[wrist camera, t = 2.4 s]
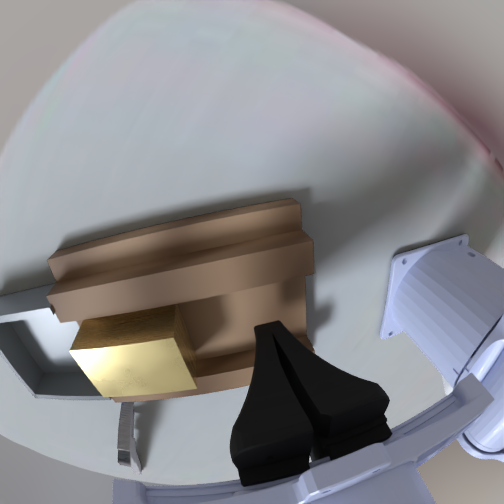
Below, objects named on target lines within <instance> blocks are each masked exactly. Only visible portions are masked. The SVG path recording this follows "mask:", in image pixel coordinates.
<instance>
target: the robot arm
mask: <svg viewBox="0 0 504 504" xmlns="http://www.w3.org/2000/svg"><path fill="white" fill-rule="evenodd" d="M468 243H469V236H468V235H466V234H463V235H460V236H457V237H454V238H451V239H448V240H444V241H441V242H438V243H435V244H431V245H428V246H425V247H421V248H418V249H415V250H411V251H408V252H404V253H401V254H397V255H396V256H394V258H393V259H392V264H391V272H390V279H389V286H388V293H387V299H386V305H385V310H384V316H383V321H382V326H381V331H380V337H381V339H383V340H384V339H387V338H389V337H392V336H394V335H396V334H399V333H401V332H403V331H404V332H405V333H406V334H407V335H408V336H409V337H410V338H411V340H412V341H413V342H414V343H415V344H416V345H417V346H418V348H419V349H420V350H421V351H422V352H423V353H424V354H425V356H426V357H427V358H428V359H429V360H430V361H431V363H432V364H433V365H434V366H435V367H436V369H437V370H438V371H439V372H440V373H441V375H442V376H443V377H444V378H445V379H446V381H447V382H448V383H449V384H450V386H451V387H452V388H453V391H452V392H451V393H450V394H448V395H447V396H446V397H444V398H443V399H441V400H440V401H438V402H437V403H435V404H434V405H432V406H431V407H429V408H427V409H426V410H424V411H423V412H421V413H419V414H418V415H416V416H414V417H412V418H411V419H409V420H407V421H405V422H404V423H402V424H400V425H398V426H396V427H394V428H392V429H391V430H390V428H389V427H388V425H387V423H386V422H387V418H386V417H385V415H384V413H385V411H386V409H387V407H388V404H389V401H390V400H389V397H388V396H387V394H386V393H385V391H384V390H383V389H382V388H381V387H380V386H379V385H378V384H377V383H374V382H371V381H367V380H364V379H361V378H358V377H356V376H353V375H351V374H349V373H347V372H345V371H343V370H340V369H338V368H336V367H335V366H333V365H331V364H329V363H328V362H326V361H325V360H323V359H322V358H320V357H319V356H317V355H316V354H315V353H313V352H312V351H311V350H309V349H308V348H307V347H306V346H305V345H303V344H302V343H301V342H300V341H299V340H298V339H297V338H296V337H295V336H294V335H293V334H292V333H291V332H290V331H289V330H288V329H287V328H286V327H285V326H284V325H283V323H282V322H281V321H279V320H277V321H273V322H269V323H265V324H261V325H256V326H255V327H254V333H255V338H256V351H255V362H254V369H253V374H252V379H251V383H250V387H249V390H248V393H247V396H246V399H245V402H244V404H243V407H242V409H241V412H240V414H239V416H238V418H237V420H236V422H235V424H234V426H233V429H232V434H231V439H230V454H231V458H232V462H233V463H234V465H235V466H236V467H237V469H238V472H239V477H240V479H239V480H233V481H226V482H218V483H209V484H197V485H180V486H145V485H144V484H143V483H141V482H139V481H134V480H120V479H114V480H113V504H436V503H435V501H434V499H433V497H432V495H431V493H430V492H429V490H428V488H427V486H426V485H425V483H424V481H423V479H422V477H421V476H420V474H419V472H418V471H417V469H416V468H417V467H418V466H420V465H421V464H423V463H424V462H426V461H427V460H429V459H430V458H432V457H433V456H434V455H436V454H437V453H439V452H440V451H441V450H442V449H444V448H445V447H447V446H448V445H449V444H450V443H451V442H453V441H454V440H455V439H457V440H458V441H459V443H460V445H461V446H462V447H463V448H464V450H466V451H467V452H468V453H469V454H471V455H472V456H474V457H477V458H480V459H497V460H500V461H502V462H504V269H503V268H502V267H500V266H499V265H497V264H496V263H494V262H493V261H491V260H490V259H488V258H487V257H485V256H484V255H482V254H480V253H479V252H477V251H475V250H474V249H472V248H471V247H469V246H468ZM403 259H404V260H403ZM309 457H311V460H312V462H310V463H309Z"/></svg>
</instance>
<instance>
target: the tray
mask: <svg viewBox="0 0 504 504" xmlns="http://www.w3.org/2000/svg"><path fill="white" fill-rule="evenodd" d="M54 285H55V284H51V285H47V286H42V287H38V288H34V289H29V290H25V291H21V292H16V293H12V294H8V295H4V296H0V355H1V356H2V358H3V359H4V360H5V362H6V363H7V364H8V366H9V367H10V368H11V370H12V371H13V372H14V374H15V375H16V376H17V377H18V379H19V380H20V381H21V382H22V383H23V385H24V386H25V387H26V388H27V389H28V390H29V392H30V393H31V394H32V395H33V396H34V397H35V398H43V399H58V400H111V397H103V396H102V395H101V393H100V392H99V391H98V390H97V388H96V387H95V386H94V385H93V383H92V382H91V381H90V379H89V378H88V377H87V375H86V374H85V373H84V371H83V370H82V369H81V367H80V366H79V364H78V363H77V361H76V360H75V359H74V357H73V356H72V354H71V353H70V348H71V346H72V344H73V341H74V339H75V337H76V334H77V332H78V330H79V328H80V327H79V325H78V324H77V322H76V321H72V322H65V323H60V321H59V320H58V318H57V316H56V314H55V312H54V310H53V309H52V307H51V305H50V303H49V301H48V299H47V297H46V296H47V294H48V293H49V291H50V290H51V289H52V287H53V286H54Z"/></svg>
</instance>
